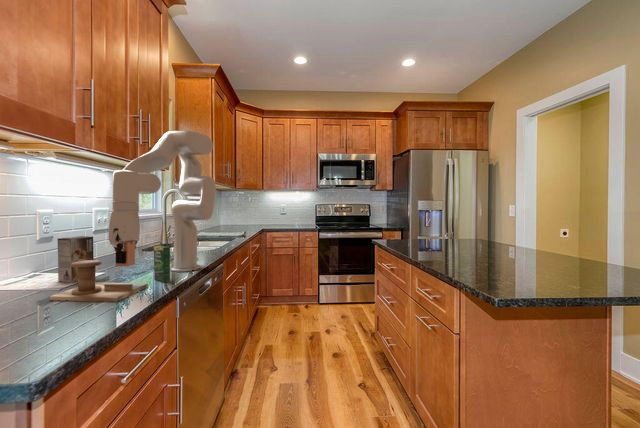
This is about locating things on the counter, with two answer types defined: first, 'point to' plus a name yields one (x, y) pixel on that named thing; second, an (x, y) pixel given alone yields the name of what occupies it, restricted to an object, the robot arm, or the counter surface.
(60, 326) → the counter surface
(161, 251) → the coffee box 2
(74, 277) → the coffee box
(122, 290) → the board
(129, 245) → the tab block
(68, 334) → the counter surface
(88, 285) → the bobbin
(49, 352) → the counter surface
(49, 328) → the counter surface
